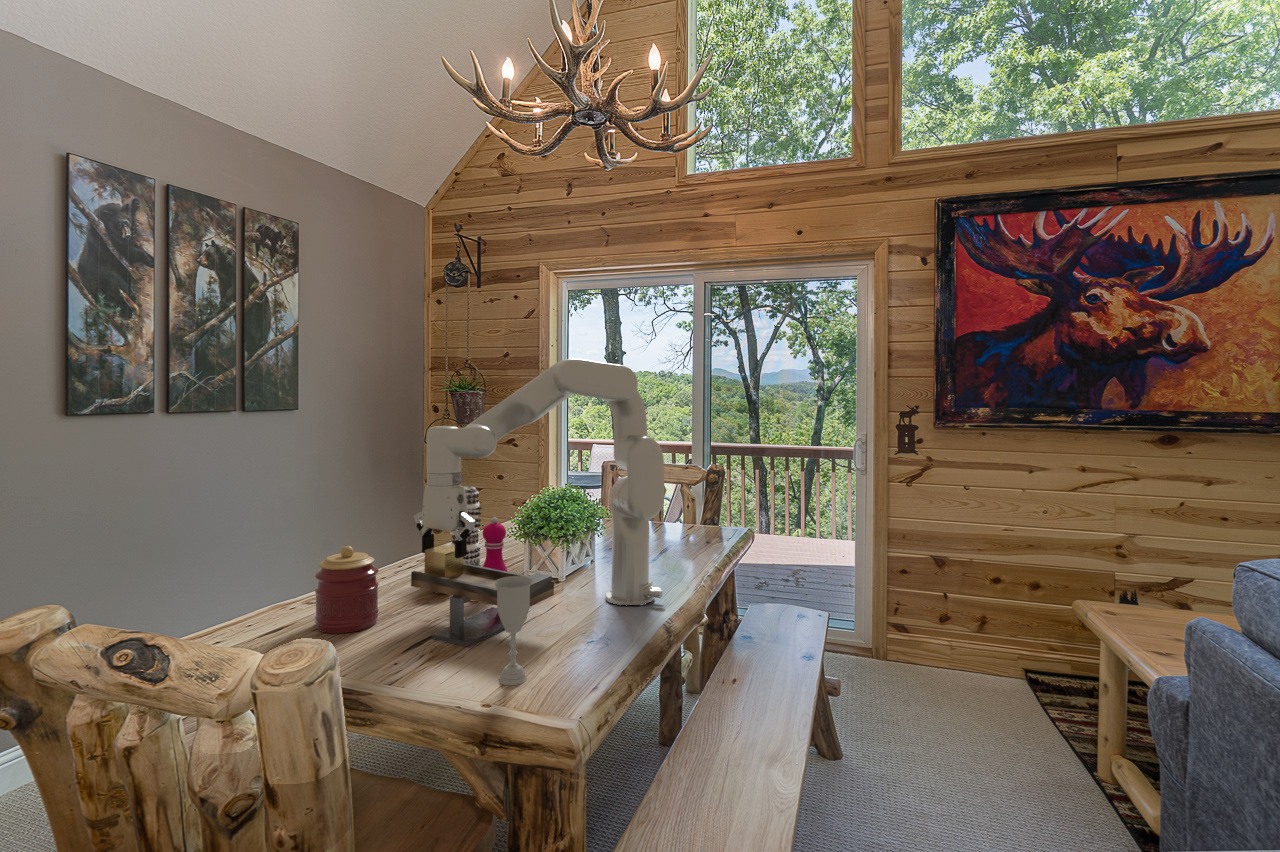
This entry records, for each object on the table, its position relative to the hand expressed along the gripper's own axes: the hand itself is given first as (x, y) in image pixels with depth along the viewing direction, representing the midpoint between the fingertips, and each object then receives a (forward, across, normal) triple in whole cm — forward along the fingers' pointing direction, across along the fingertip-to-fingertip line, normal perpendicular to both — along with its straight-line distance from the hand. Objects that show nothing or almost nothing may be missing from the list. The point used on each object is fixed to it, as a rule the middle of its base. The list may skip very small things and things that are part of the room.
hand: (444, 554), depth 146 cm
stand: (+15, -11, 0) cm, 19 cm away
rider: (+5, 0, 0) cm, 5 cm away
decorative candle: (+16, +23, -34) cm, 44 cm away
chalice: (+15, -33, +18) cm, 41 cm away
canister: (+15, +17, +12) cm, 26 cm away
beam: (+7, -11, 0) cm, 13 cm away
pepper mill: (+16, +3, -22) cm, 27 cm away
